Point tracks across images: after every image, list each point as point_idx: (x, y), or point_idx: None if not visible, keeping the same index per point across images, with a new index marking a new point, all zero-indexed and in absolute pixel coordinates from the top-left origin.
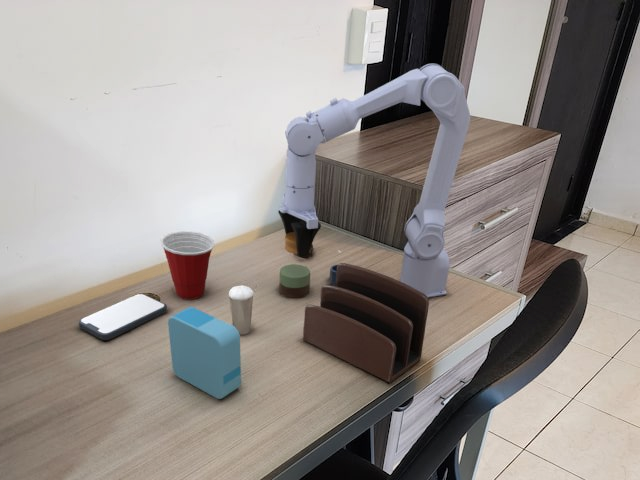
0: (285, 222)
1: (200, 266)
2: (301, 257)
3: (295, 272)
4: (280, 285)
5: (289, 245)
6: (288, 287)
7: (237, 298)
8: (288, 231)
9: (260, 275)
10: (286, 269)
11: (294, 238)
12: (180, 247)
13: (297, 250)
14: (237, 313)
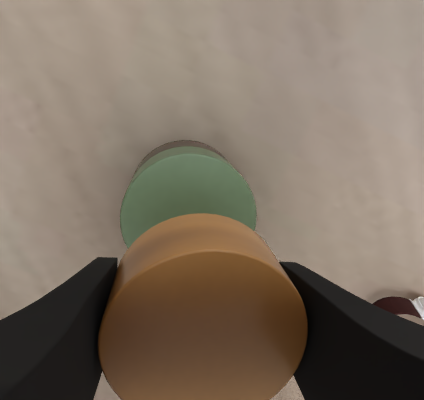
0: (374, 345)
1: None
2: (374, 304)
3: (173, 217)
4: (189, 144)
5: (161, 240)
6: (145, 161)
7: None
8: (319, 312)
9: (344, 131)
10: (216, 192)
11: (182, 307)
12: None
13: (98, 266)
14: None
